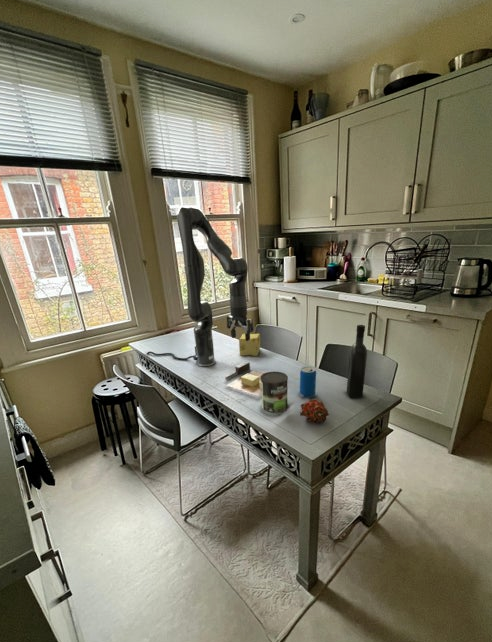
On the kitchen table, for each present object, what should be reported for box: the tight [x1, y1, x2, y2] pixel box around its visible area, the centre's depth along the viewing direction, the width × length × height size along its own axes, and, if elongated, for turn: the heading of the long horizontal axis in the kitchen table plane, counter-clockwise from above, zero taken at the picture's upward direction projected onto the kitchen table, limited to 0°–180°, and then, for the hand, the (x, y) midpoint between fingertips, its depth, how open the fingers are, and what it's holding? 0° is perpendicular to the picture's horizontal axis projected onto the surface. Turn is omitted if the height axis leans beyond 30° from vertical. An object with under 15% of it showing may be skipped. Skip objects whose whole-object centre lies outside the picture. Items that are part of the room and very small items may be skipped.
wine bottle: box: [346, 324, 368, 399], centre depth 126 cm, size 6×6×30 cm
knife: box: [225, 361, 251, 381], centre depth 152 cm, size 2×16×5 cm, turn 141°
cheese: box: [238, 333, 261, 357], centre depth 180 cm, size 10×11×10 cm
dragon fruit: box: [299, 399, 330, 424], centre depth 116 cm, size 8×8×12 cm
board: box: [226, 369, 265, 397], centre depth 144 cm, size 18×20×2 cm
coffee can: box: [261, 371, 289, 416], centre depth 122 cm, size 10×10×14 cm
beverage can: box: [299, 366, 317, 399], centre depth 131 cm, size 6×6×12 cm
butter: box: [240, 372, 260, 387], centre depth 143 cm, size 7×5×3 cm, turn 51°
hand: (240, 339), depth 149 cm, fingers open, 8 cm apart
